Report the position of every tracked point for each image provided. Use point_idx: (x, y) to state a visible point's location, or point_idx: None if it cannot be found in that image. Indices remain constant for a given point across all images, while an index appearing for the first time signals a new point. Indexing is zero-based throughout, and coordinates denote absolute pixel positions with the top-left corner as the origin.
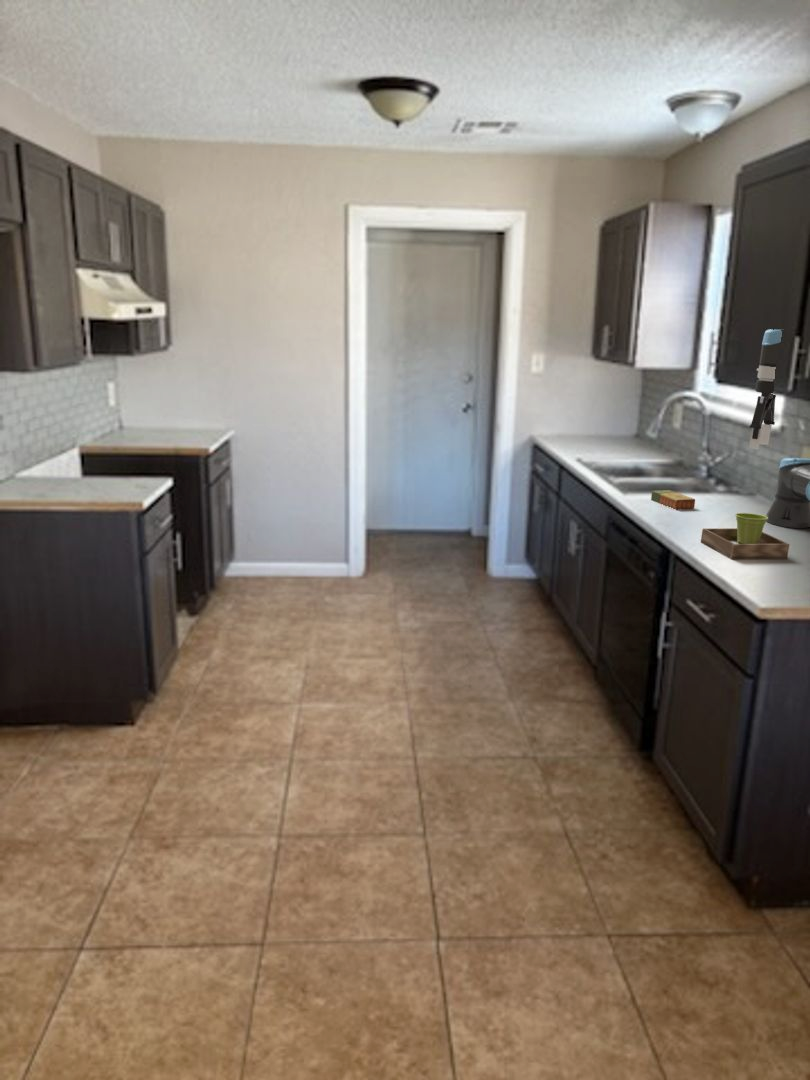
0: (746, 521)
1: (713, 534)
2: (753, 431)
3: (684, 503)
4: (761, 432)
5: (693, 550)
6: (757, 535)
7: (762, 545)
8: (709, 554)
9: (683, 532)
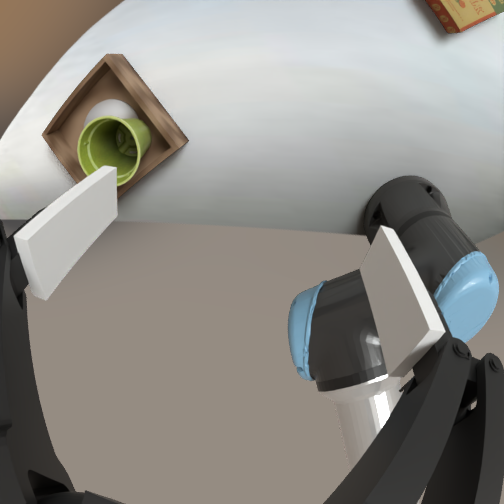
0: (85, 145)
1: (78, 85)
2: (13, 235)
3: (438, 6)
4: (406, 277)
5: (68, 64)
6: (112, 160)
7: (70, 173)
8: (61, 92)
9: (184, 5)
